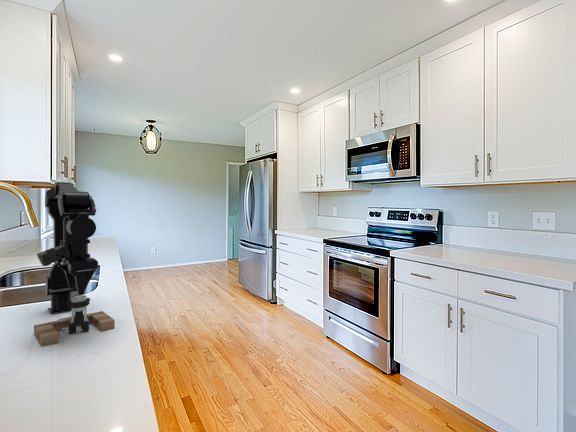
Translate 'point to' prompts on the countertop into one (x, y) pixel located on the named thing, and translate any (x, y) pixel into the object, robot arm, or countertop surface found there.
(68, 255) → the robot arm
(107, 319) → the notched board
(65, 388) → the countertop surface
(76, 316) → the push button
